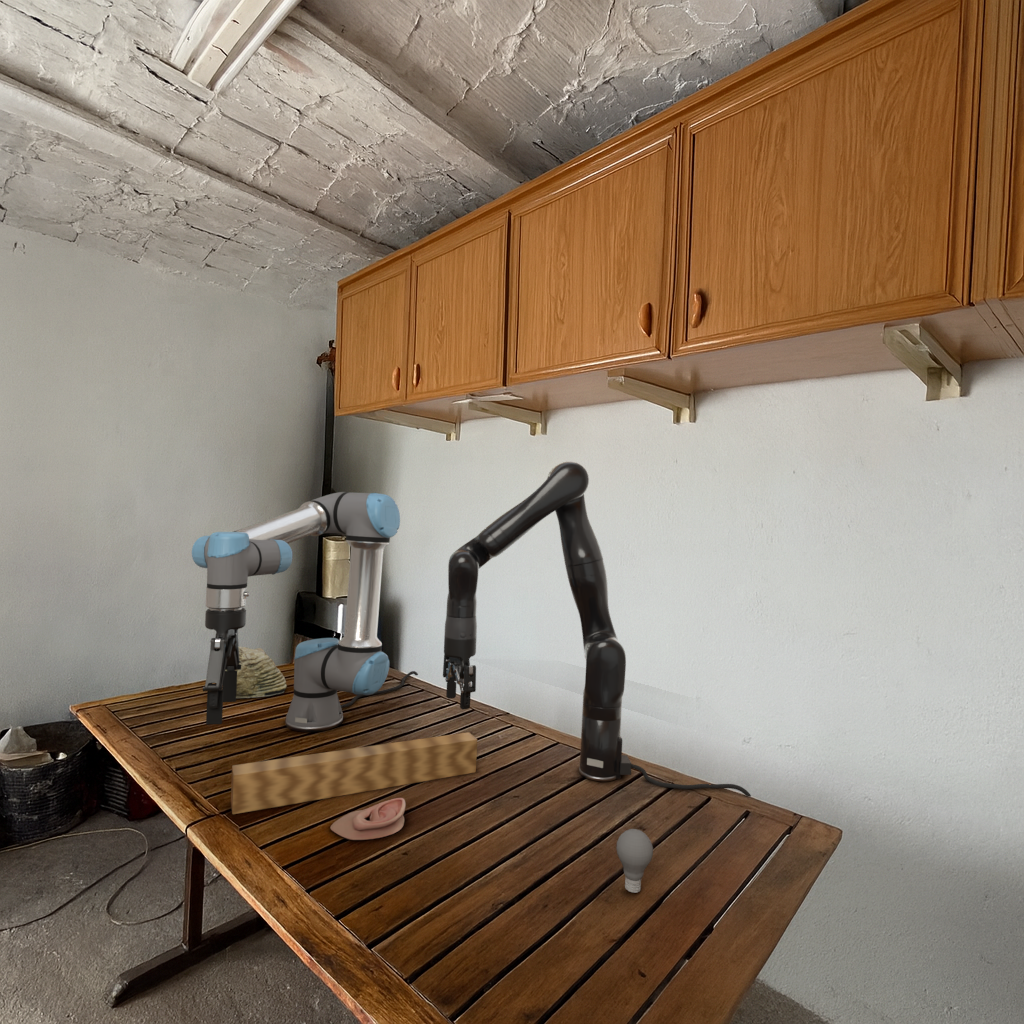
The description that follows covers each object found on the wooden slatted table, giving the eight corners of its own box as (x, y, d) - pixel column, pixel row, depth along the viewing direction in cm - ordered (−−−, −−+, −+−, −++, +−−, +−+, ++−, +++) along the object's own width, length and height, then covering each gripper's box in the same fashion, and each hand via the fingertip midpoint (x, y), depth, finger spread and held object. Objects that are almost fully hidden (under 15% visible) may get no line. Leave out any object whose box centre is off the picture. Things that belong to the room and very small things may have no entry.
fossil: (218, 695, 195) (220, 647, 195) (278, 685, 208) (279, 640, 207) (228, 703, 189) (230, 653, 188) (289, 692, 201) (290, 645, 201)
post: (232, 814, 125) (233, 775, 125) (230, 803, 129) (232, 765, 129) (476, 772, 149) (477, 739, 149) (467, 764, 154) (468, 732, 153)
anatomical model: (323, 814, 118) (350, 787, 130) (322, 835, 118) (350, 806, 130) (389, 824, 116) (412, 796, 127) (389, 846, 116) (411, 816, 127)
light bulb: (610, 879, 108) (613, 822, 108) (644, 879, 109) (647, 822, 109) (619, 902, 102) (622, 840, 102) (655, 901, 103) (658, 840, 103)
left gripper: (233, 619, 117) (228, 733, 118) (256, 598, 142) (252, 693, 142) (189, 619, 116) (184, 735, 116) (220, 598, 140) (216, 693, 140)
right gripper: (487, 640, 144) (485, 710, 144) (463, 627, 157) (460, 692, 157) (457, 642, 140) (454, 714, 141) (434, 629, 153) (432, 696, 153)
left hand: (221, 712), depth 129 cm, fingers open, 13 cm apart
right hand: (457, 703), depth 149 cm, fingers open, 8 cm apart
